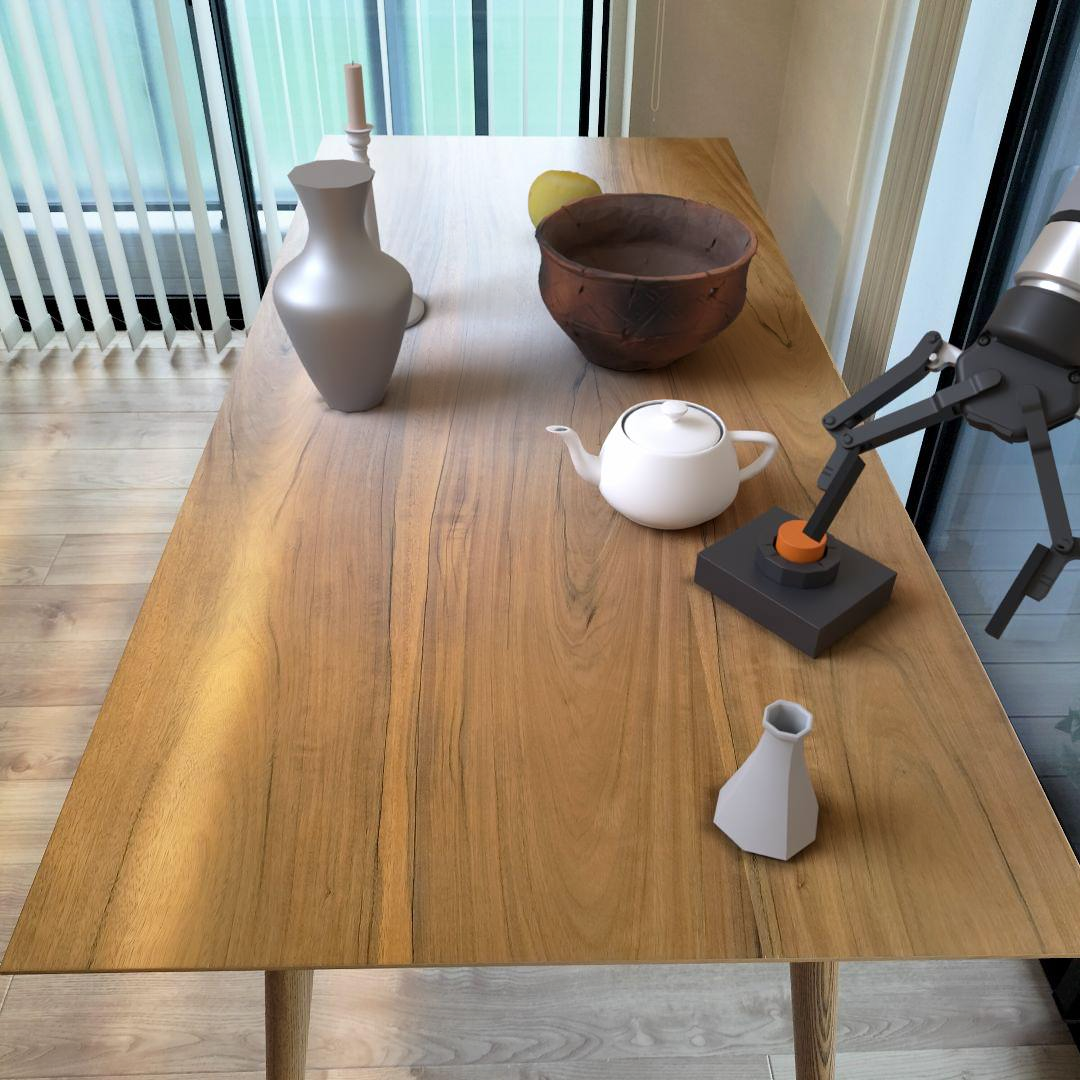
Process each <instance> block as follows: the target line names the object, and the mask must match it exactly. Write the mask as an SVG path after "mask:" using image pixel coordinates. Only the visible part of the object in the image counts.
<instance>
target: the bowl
mask: <svg viewBox="0 0 1080 1080" xmlns="http://www.w3.org/2000/svg"><path fill="white" fill-rule="evenodd" d="M534 237H535V240H536V242H537V244H538V246H539V252H540V264H539V270H538V274H537V277H538V280H537V284H538V290H539V294H540V298H541V300H542V302H543V304H544V306H545V308H546V309H547V311H548V312H549V314H550V316H551V317H552V319H553V320H554V321H555V323H556V324H557V325H558V326H559V328H560V329H561V330H562V331H563V332H564V333H565V335H566V336H567V337H568V338H569V339H570V340H571V341H572V342H573V343H574V344H575V346H576V347H577V348H578V350H579V351H580V352H581V354H582V355H583V357H584V358H585V359H586V360H587V361H589V362H591V363H594V364H595V365H598V366H600V367H604V368H608V369H613V370H615V371H616V370H617V371H627V372H634V371H639V370H642V369H647V370H653V369H659V368H661V367H665V366H668V365H670V364H672V363H673V362H674V361H676V360H678V359H680V358H682V357H684V356H686V355H689V354H690V353H692V352H694V351H695V350H698V349H699V348H701V347H702V346H704V345H706V344H707V343H709V342H711V341H712V340H713V339H715V338H716V337H717V336H719V334H721V333H722V332H723V331H724V330H727V328H729V327H730V326H731V325H732V324H733V323H734V322H735V321H736V319H737V318H738V317H739V316H740V314H741V313H742V312H743V309H744V307H745V304H746V300H747V292H748V288H747V282H748V281H747V280H748V273H749V268H750V265H751V262H752V259H753V257H755V255H756V254H757V251H758V245H759V240H758V236H757V234H756V232H755V230H754V228H752V227H751V225H749V224H748V223H747V222H745V221H744V220H742V219H741V218H739V217H738V216H737V215H735V214H734V213H732V212H729V211H726V210H723V209H721V208H718V207H716V206H713V205H710V204H707V203H703V202H700V201H698V200H693V199H690V198H687V199H685V198H683V197H679V196H674V195H668V194H662V193H648V192H627V193H622V192H621V193H616V192H615V193H614V192H613V193H612V192H604V193H602V194H597V195H590V196H587V197H584V198H578V199H575V200H572V201H570V202H568V203H567V204H565V205H563V206H561V208H559V209H557V210H555V211H553V212H551V213H550V214H548V215H547V216H546V217H544V218H543V219H542V220H541V222H540V223H539V224H538V226H537V228H535V230H534Z"/></svg>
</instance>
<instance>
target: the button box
mask: <svg viewBox="0 0 1080 1080" xmlns="http://www.w3.org/2000/svg"><path fill="white" fill-rule="evenodd" d="M793 520H803V521H805V520H804V519H803V518H800V517H798V516H797V515H795V514H793V513H792V512H790V511H788V510H786V509H785V508H782V507H780V506H779V505H774V506H773V507H771V508H770V509H768V510H766V511H764V512H763V513H761V514H760V515H758V516H756V517H754V518H753V519H752V520H750V521H748V522H747V523H745V524H743V525H741V526H740V527H738V528H737V529H735V530H734V531H732V532H730V533H728V534H726V535H725V536H724V537H722V538H720V539H719V540H717V541H715V542H713V543H712V544H710V545H709V546H707V547H705V548H703V549H702V550H700V551H699V552H697V553H696V560H695V568H694V575H693V582H694V583H695V584H697V585H699V586H700V587H702V588H703V589H705V590H706V591H708V592H709V593H711V594H712V595H713V596H715V597H717V598H719V599H720V600H721V601H723V602H725V603H726V604H728V605H730V606H731V607H732V608H734V609H735V610H737V611H739V612H740V613H741V614H743V615H745V616H746V617H748V618H749V619H751V620H753V621H754V622H756V623H758V624H759V625H760V626H762V627H764V628H765V629H767V630H768V631H770V632H771V633H773V634H774V635H776V636H778V637H779V638H781V639H782V640H784V641H785V642H787V643H789V644H790V645H792V646H793V647H794V648H796V649H798V650H799V651H801V652H802V653H804V654H806V655H807V656H809V657H810V658H812V659H815V658H816V657H818V656H819V655H820V654H821V653H823V652H824V651H825V650H827V649H828V648H830V647H831V646H832V645H833V644H834V643H836V642H838V641H839V640H840V639H841V638H843V637H844V636H845V635H847V634H849V633H850V632H851V631H852V630H853V629H855V628H856V627H857V626H858V625H861V624H862V623H863V622H864V621H865V620H867V619H868V618H869V617H871V616H872V615H873V614H874V613H876V612H877V611H878V610H880V609H882V607H884V606H885V605H887V604H888V603H889V602H891V599H892V595H893V591H894V588H895V584H896V581H897V577H898V574H899V573H898V572H897V571H896V570H894V569H892V568H890V567H889V566H886V565H885V564H883V563H881V562H879V561H877V560H876V559H874V558H872V557H871V556H869V555H867V554H865V553H863V552H861V551H860V550H858V549H856V548H854V547H853V546H851V545H849V544H847V543H846V542H843V540H840V539H838V538H836V537H835V536H834V535H833V534H831V533H830V532H828V531H827V532H826V536H827V540H826V545H825V549H824V554H823V557H822V558H821V559H820V560H819V561H817V562H815V563H807V564H803V563H798V562H793V561H789V560H787V559H786V558H784V557H782V556H780V555H779V554H778V552H777V550H776V542H777V537H778V531H779V528H780V527H781V525H782V524H784V523H786V522H788V521H793Z"/></svg>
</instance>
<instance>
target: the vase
mask: <svg viewBox="0 0 1080 1080" xmlns="http://www.w3.org/2000/svg"><path fill="white" fill-rule="evenodd" d="M375 174H376V171H375V169H373V168H372V167H371V166H370V167H369V166H368V165H367V164H366V163H361V162H355V161H351V160H350V159H344V158H342V159H341V158H340V159H339V158H338V159H321V160H320V159H319V160H314V161H310V162H305V163H303V164H300V165H296V166H294V167H293V169H292V170H290V172H289V173H288V174H287V178H288V180H289V182H290V183H291V185H292V187H293V189H294V190H295V193H296V194H297V196H298V199H299V201H300V203H301V205H302V207H303V210H304V213H305V215H306V218H307V224H308V235H307V239H306V242H305V244H304V247H303V248H302V250H301V252H299V254H297V256H296V255H295V257H293V258H292V259H291V260H290V261H288V262H287V263H286V264H285V265H284V266H283V267H282V268H281V269H280V270H279V272H278V273H277V274H276V276H275V278H274V280H273V283H272V291H271V293H272V300H273V303H274V307H275V310H276V312H277V314H278V317H279V319H280V321H281V324H282V325H283V328H284V330H285V332H286V334H287V336H288V338H289V340H290V343H291V344H292V346H293V348H294V351H295V352H296V355H297V357H298V358H299V361H300V363H301V364H302V366H303V368H304V369H305V372H306V373H307V375H308V376H309V378H310V380H311V382H312V383H313V385H314V386H315V388H316V390H317V392H318V393H319V395H320V396H321V397H322V399H323V401H324V402H325V403H326V404H327V406H328V407H329V408H330V409H334V410H337V411H341V412H345V413H350V412H351V413H352V412H353V413H354V412H363V411H367V410H369V409H371V408H374V407H376V406H378V405H380V404H382V401H383V398H384V396H385V394H386V391H387V389H388V386H389V384H390V382H391V379H392V376H393V374H394V370H395V368H396V364H397V362H398V358H399V355H400V352H401V349H402V344H403V341H404V337H405V333H406V329H407V328H406V325H407V321H408V317H409V313H410V309H411V304H412V298H413V293H414V286H413V285H414V284H413V280H412V277H411V274H410V272H409V271H408V269H407V268H406V267H405V266H404V265H403V264H402V263H401V262H400V261H399V260H398V259H396V258H394V257H393V256H391V255H390V254H388V253H386V252H385V251H383V250H382V249H381V250H379V249H378V248H377V247H376V246H375V245H374V244H373V242H372V241H371V239H370V237H369V235H368V234H367V231H366V228H365V222H364V214H365V206H366V202H367V198H368V194H369V190H370V186H371V183H372V184H373V180H374V177H375Z"/></svg>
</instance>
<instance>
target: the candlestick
mask: <svg viewBox="0 0 1080 1080" xmlns="http://www.w3.org/2000/svg"><path fill="white" fill-rule="evenodd" d="M343 73H344V84H345V85H344V86H345V96H346V97H345V98H346V108H347V119H348V120H347V121H348V123H346V124H344V125H342V127H341V129H342V130H343V131H344V132H345V133H346V134H347V143H348V145H349V146H351V150H352V158H351V160H350V161H355V162H361V163H366V164H367V165H368V166H369V167H371V158H370V157H369V156H368V148H369V147H368V146H369V145H370V144H371V140H372V138H371V136H370V133H371V132H372V130H373V129H374V128H375V126H374V125H373V124H371V123H368V122H367V115H366V114H367V112H366V102H365V90H364V75H363V65H362V64H361V63H357V62H354V60H352V61H351V62H349V63H348V62H347V63H345V64H343ZM375 201H376V200H375V193H374V187H373V182H372V183H371V186H370V190H369V194H368V198H367V202H366V206H365V214H364V222H365V228H366V231H367V234H368V235H369V237H370V239H371V241H372V242H373V244H374V245H375V246H376V247H377V248H378V249H379V250H381V251H382V248H381V247H382V246H381V240H380V234H379V233H380V232H379V224H378V217H377V210H376V202H375ZM424 314H425V304H424V301H423V300H422V298H421V297H420V296H419V295H417V294H416V293H414V292H413V298H412V304H411V309H410V313H409V317H408V321H407V325H406V329H407V328H409V327H413V325H415V324H417V323H418V322H419V321H420V320H421V319H422V317H423V316H424Z"/></svg>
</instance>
